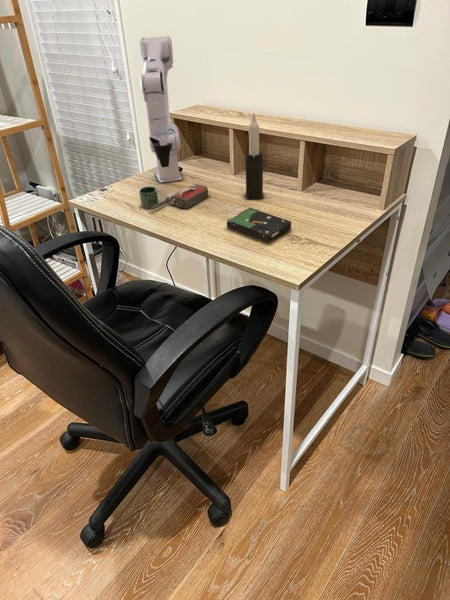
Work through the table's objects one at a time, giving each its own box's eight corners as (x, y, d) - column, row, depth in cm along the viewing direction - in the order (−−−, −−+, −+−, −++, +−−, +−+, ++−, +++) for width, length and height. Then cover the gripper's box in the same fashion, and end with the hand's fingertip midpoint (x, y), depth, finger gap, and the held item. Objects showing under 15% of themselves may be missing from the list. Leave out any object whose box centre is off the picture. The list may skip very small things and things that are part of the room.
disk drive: (291, 230, 124) (249, 215, 132) (292, 221, 122) (249, 206, 130) (268, 245, 117) (225, 228, 126) (268, 235, 116) (225, 219, 124)
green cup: (140, 203, 143) (138, 188, 140) (157, 200, 144) (155, 185, 141) (142, 210, 138) (140, 194, 135) (160, 207, 139) (158, 192, 136)
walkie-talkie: (191, 190, 149) (149, 212, 137) (190, 177, 147) (146, 198, 134) (212, 195, 145) (170, 219, 132) (211, 182, 142) (168, 205, 130)
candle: (262, 192, 145) (263, 110, 130) (262, 199, 141) (262, 115, 126) (247, 193, 145) (245, 111, 131) (246, 199, 141) (244, 115, 127)
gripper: (175, 121, 128) (179, 168, 136) (167, 110, 140) (172, 154, 148) (150, 124, 127) (156, 171, 135) (144, 113, 139) (150, 157, 146)
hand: (163, 163), depth 141 cm, fingers open, 7 cm apart
